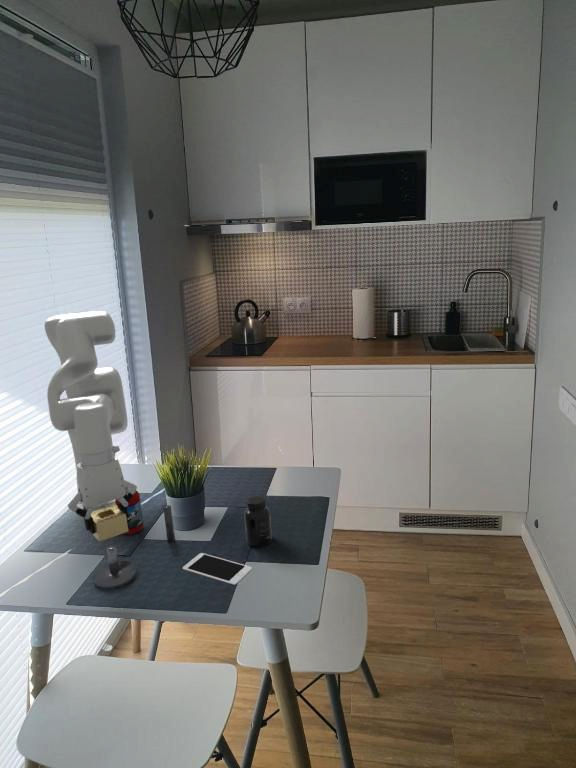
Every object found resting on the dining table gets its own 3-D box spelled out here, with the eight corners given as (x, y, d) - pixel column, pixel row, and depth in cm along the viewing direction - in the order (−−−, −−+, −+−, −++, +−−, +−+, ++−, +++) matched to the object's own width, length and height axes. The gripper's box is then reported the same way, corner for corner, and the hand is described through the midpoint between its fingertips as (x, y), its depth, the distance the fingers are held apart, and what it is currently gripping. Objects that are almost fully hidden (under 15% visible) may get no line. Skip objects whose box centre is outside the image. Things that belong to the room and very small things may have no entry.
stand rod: (166, 540, 160) (162, 506, 157) (172, 537, 161) (168, 504, 158) (169, 543, 158) (165, 509, 156) (176, 540, 159) (172, 507, 157)
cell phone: (235, 586, 138) (235, 584, 138) (181, 570, 146) (181, 567, 146) (253, 569, 145) (253, 567, 145) (201, 554, 153) (200, 552, 153)
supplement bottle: (241, 542, 157) (237, 500, 154) (259, 531, 162) (256, 491, 158) (259, 550, 152) (255, 508, 149) (277, 539, 157) (274, 498, 154)
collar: (89, 531, 141) (86, 513, 140) (118, 521, 145) (115, 504, 144) (99, 541, 136) (96, 523, 135) (128, 531, 140) (125, 513, 138)
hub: (88, 576, 145) (83, 547, 143) (127, 561, 151) (123, 533, 149) (102, 595, 138) (97, 564, 135) (143, 578, 143) (138, 549, 141)
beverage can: (137, 536, 163) (132, 496, 160) (115, 535, 164) (109, 496, 161) (148, 524, 169) (142, 486, 166) (126, 523, 171) (120, 485, 167)
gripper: (127, 442, 144) (136, 509, 148) (53, 461, 134) (66, 532, 138) (139, 450, 138) (148, 520, 142) (63, 471, 128) (75, 545, 132)
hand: (107, 525), depth 140 cm, fingers closed on collar, 7 cm apart
